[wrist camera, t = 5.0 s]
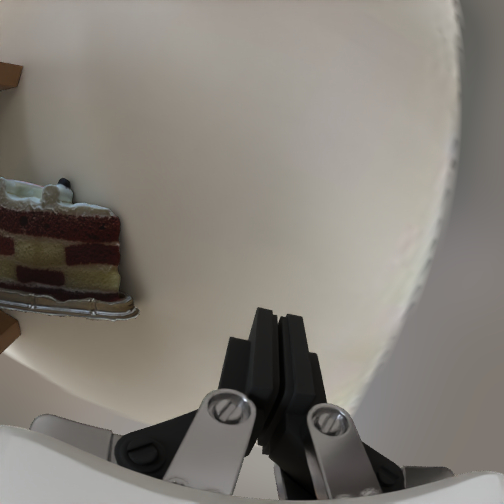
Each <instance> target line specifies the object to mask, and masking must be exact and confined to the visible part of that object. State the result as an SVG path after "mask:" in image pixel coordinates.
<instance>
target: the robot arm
mask: <svg viewBox="0 0 504 504" xmlns="http://www.w3.org/2000/svg"><path fill="white" fill-rule="evenodd" d="M257 438H258V445H260V446H263V449H262V454H266V455H269V458H270V459H271V460H272V461H274V462H275V464H274V473H275V479H276V485H277V491H278V496H279V500H270V499H257V498H248V497H239V496H232V495H233V492H234V489H235V486H236V483H237V479H238V476H239V473H240V470H241V467H242V463H243V460H244V457H246V456H248V455H249V453H250V452H251V450H252V448H253V446H254V444H255V442H256V440H257ZM0 504H504V475H503V474H501V473H498V472H490V471H476V472H469V473H464V474H460V475H456V476H454V474H453V472H452V471H451V470H450V469H448V468H446V467H417V466H403V467H401V468H400V467H398V466H397V465H396V464H395V463H394V462H392V461H390V460H389V459H387V458H386V457H384V456H383V455H381V454H380V453H378V452H377V451H375V450H374V449H372V448H370V447H369V446H368V445H366V444H365V443H364V442H362V441H361V439H360V437H359V434H358V432H357V429H356V427H355V425H354V422H353V420H352V418H351V417H350V415H349V414H348V413H347V412H346V411H345V410H344V409H342V408H341V407H339V406H337V405H333V404H328V403H327V400H326V395H325V390H324V385H323V380H322V375H321V370H320V365H319V361H318V356H317V354H316V353H311V352H309V350H308V344H307V339H306V334H305V328H304V323H303V318H302V317H301V316H297V315H292V314H287V315H286V317H282V316H281V317H280V320H279V323H278V321H277V315H273V312H272V310H268V309H264V308H259V307H258V308H257V310H256V314H255V317H254V321H253V324H252V328H251V332H250V335H249V339H248V340H243V339H238V338H234V337H230V339H229V343H228V347H227V351H226V355H225V360H224V364H223V368H222V373H221V378H220V382H219V387H218V389H217V390H213V391H212V392H210V393H208V394H207V395H206V396H205V398H204V399H203V401H202V403H201V405H200V407H199V409H197V410H195V411H192V412H190V413H187V414H184V415H182V416H179V417H176V418H174V419H171V420H168V421H165V422H162V423H159V424H156V425H153V426H150V427H147V428H144V429H141V430H137V431H134V432H131V433H128V434H126V435H124V436H123V435H118V434H113V432H112V431H111V430H107V429H103V428H98V427H94V426H90V425H86V424H82V423H79V422H75V421H72V420H69V419H65V418H62V417H58V416H56V415H51V414H44V415H40V416H38V417H37V418H35V419H34V421H33V422H32V424H31V426H30V429H24V428H20V427H16V426H8V425H0Z"/></svg>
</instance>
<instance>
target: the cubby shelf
mask: <svg viewBox="0 0 504 504" xmlns="http://www.w3.org/2000/svg"><path fill="white" fill-rule="evenodd" d="M22 68H23V66H19V65H14V64H9V63H3V62H0V91H2V90H6V89H10V88H15V87H17V85H18V82H19V78H20V75H21V71H22ZM20 335H21V331H20V328H19V324H18V321H17V320H16V319H14V318H12V317H11V316H9V315H8V314H6V313H5V312H3V311H2V310H0V354H1V353H2V352H3V351H4V350H5V349H6V348H7V347H8V346H9V345H10V344H11V343H13V342H14V341H15V340H16V339H17V338H18V337H19V336H20Z"/></svg>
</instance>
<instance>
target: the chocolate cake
mask: <svg viewBox="0 0 504 504" xmlns="http://www.w3.org/2000/svg"><path fill="white" fill-rule="evenodd" d="M72 198H73V192H72V191H71V189H70V182H69V181H68V180H67V179H65V178H61V179H60V180H59V182H58V184H57V185H56V186H55V185H52V184H48V185H46V186H45V187H44V186H40V185H36V184H32V183H29V182H25V181H17V180H12V179H5V178H3V177H0V309H5V310H12V311H13V310H16V311H24V312H35V313H41V314H47V315H49V316H50V315H54V316H60V317H62V316H63V317H64V316H67V315H68V316H78V317H87V319H89V320H110V321H113V322H115V320H127V319H131V318H135V319H136V317H137V315H140V314H139V313H140V312H139V311H140V310H139V309H138V308H136V307H135V306H134V302H133V299H132V298H131V296H129V295H128V294H126V293H122V292H120V291H119V284H120V279H121V278H120V275H119V273H118V265H119V263H120V252H119V248H120V244H119V234H120V221H119V218H118V216H116V215H115V214H113V213H112V211H111V210H110V209H109V208H103V207H100V206H98V205H89V204H87V203H76V204H72Z"/></svg>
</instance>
